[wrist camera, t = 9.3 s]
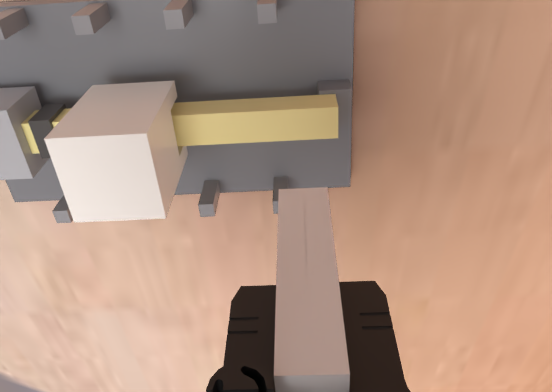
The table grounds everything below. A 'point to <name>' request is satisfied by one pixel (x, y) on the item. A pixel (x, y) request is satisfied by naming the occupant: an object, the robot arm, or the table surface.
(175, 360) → the table surface
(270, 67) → the cable comb
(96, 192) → the sleeve
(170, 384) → the table surface
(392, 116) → the table surface
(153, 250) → the table surface
